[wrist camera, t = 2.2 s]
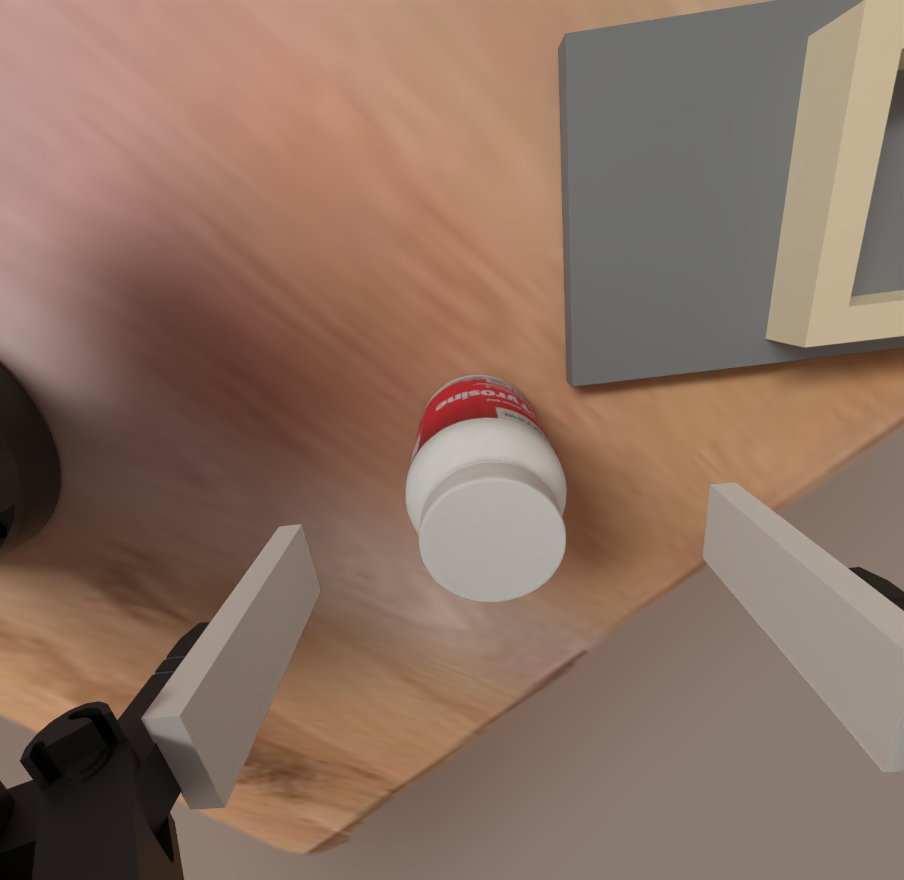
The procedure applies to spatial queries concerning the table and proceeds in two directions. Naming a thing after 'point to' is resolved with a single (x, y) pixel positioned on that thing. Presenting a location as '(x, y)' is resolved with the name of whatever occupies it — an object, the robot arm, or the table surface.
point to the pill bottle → (486, 492)
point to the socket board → (733, 188)
